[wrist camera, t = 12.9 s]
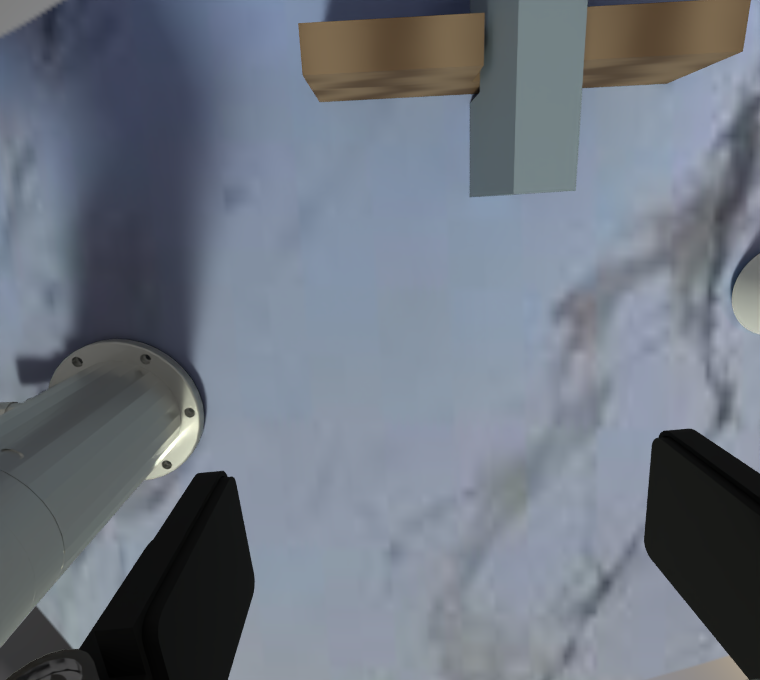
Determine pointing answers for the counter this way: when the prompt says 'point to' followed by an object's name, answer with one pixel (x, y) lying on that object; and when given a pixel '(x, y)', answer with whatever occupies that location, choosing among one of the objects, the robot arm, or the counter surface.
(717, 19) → the walnut slotted board
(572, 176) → the plain grey board
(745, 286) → the can
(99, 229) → the counter surface
